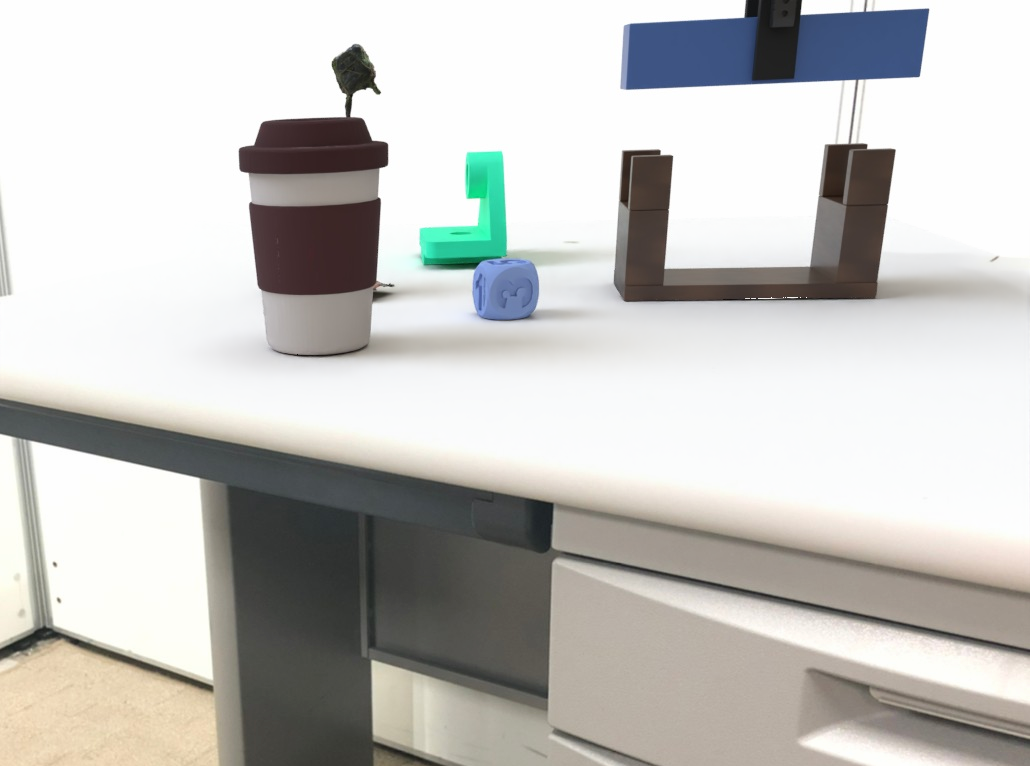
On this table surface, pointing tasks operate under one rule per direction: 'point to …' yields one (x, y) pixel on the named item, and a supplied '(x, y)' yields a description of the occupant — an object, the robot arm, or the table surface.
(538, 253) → the table surface
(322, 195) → the coffee cup
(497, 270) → the decorative dice
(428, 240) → the camera mount
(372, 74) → the plant with pod
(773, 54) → the robot arm
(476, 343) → the table surface
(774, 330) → the table surface
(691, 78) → the rectangular block
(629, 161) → the holder
